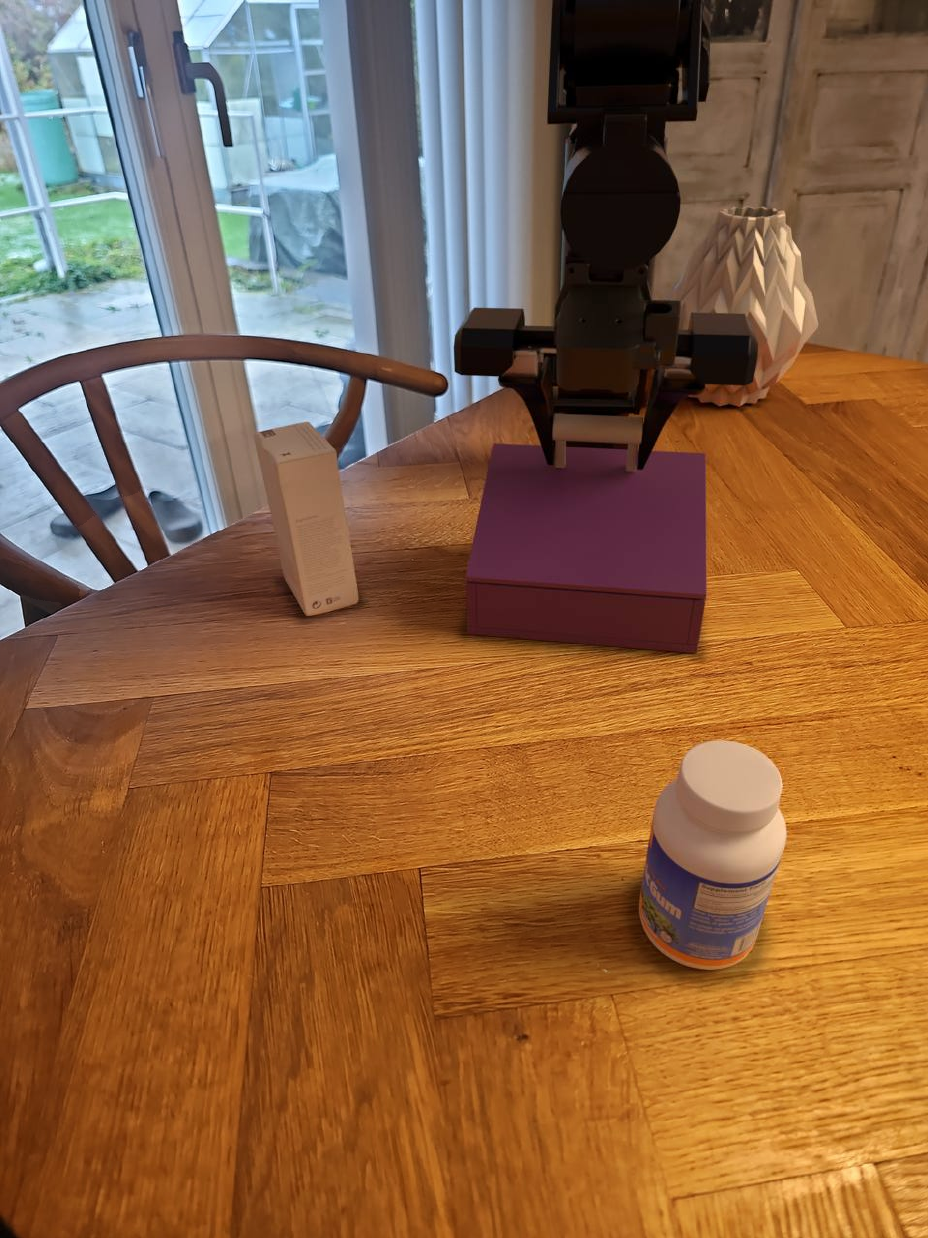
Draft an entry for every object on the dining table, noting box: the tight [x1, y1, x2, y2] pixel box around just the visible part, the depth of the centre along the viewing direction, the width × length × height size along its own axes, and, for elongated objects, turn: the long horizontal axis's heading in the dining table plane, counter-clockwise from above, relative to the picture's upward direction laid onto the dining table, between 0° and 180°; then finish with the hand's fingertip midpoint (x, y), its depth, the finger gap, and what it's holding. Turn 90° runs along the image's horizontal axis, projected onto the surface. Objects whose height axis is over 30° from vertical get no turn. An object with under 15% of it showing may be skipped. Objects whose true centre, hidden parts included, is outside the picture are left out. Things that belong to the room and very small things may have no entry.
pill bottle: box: [638, 739, 787, 971], centre depth 37 cm, size 5×5×10 cm
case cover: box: [464, 414, 708, 600], centre depth 57 cm, size 13×15×5 cm
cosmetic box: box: [253, 421, 359, 617], centre depth 60 cm, size 6×4×12 cm
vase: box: [664, 205, 819, 407], centre depth 88 cm, size 16×16×18 cm
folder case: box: [465, 580, 706, 654], centre depth 61 cm, size 12×15×4 cm
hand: (594, 465), depth 60 cm, fingers closed on case cover, 6 cm apart
